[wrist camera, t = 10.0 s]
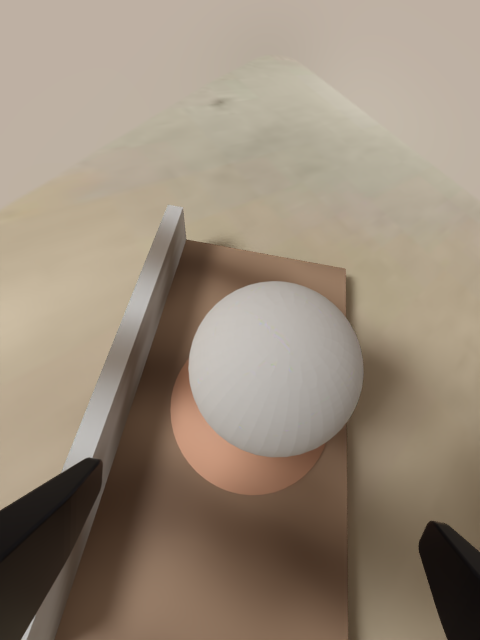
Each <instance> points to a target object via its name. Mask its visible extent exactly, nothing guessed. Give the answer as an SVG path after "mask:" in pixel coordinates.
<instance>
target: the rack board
mask: <svg viewBox="0 0 480 640" xmlns="http://www.w3.org/2000/svg"><path fill="white" fill-rule="evenodd" d="M269 281H281V282H289V283H295V284H298V285H301V286H304V287H307V288H309V289H311V290H314V291H316V292H317V293H319V294H321V295H322V296H324V297H326V298H327V299H328V300H329V301H331V302H332V303H333V304H334V305H335V306H336V307H337V308H338V309H339V310H340V311H341V312H342V313H343V314H344V316H345V317H346V269H344V268H339V267H333V266H328V265H322V264H317V263H311V262H306V261H300V260H295V259H289V258H284V257H279V256H273V255H268V254H262V253H257V252H251V251H246V250H240V249H235V248H229V247H224V246H219V245H213V244H208V243H202V242H197V241H191V240H186V232H185V222H184V213H183V207H178V206H172V205H168V206H167V208H166V211H165V213H164V216H163V218H162V221H161V223H160V226H159V228H158V231H157V233H156V236H155V238H154V241H153V243H152V246H151V248H150V251H149V253H148V256H147V258H146V261H145V263H144V266H143V269H142V271H141V274H140V276H139V279H138V281H137V284H136V286H135V289H134V291H133V294H132V296H131V299H130V301H129V304H128V306H127V309H126V311H125V314H124V316H123V319H122V321H121V324H120V326H119V329H118V331H117V334H116V336H115V339H114V341H113V344H112V346H111V349H110V351H109V354H108V356H107V359H106V361H105V364H104V366H103V369H102V371H101V374H100V376H99V379H98V381H97V384H96V387H95V389H94V392H93V394H92V397H91V399H90V402H89V404H88V407H87V409H86V412H85V414H84V417H83V419H82V422H81V424H80V427H79V429H78V432H77V434H76V437H75V439H74V442H73V444H72V447H71V449H70V452H69V454H68V457H67V459H66V462H65V464H64V467H63V469H62V472H64V471H65V470H67V469H69V468H70V467H72V466H73V465H75V464H77V463H78V462H80V461H82V460H83V459H85V458H88V457H91V458H96V459H101V460H102V461H103V474H102V486H101V489H100V492H99V495H98V497H97V499H96V501H95V503H94V505H93V507H92V510H91V512H90V514H89V516H88V518H87V520H86V522H85V524H84V527H83V529H82V531H81V533H80V535H79V537H78V539H77V542H76V544H75V546H74V548H73V550H72V552H71V554H70V556H69V558H68V560H67V561H66V563H65V565H64V567H63V569H62V570H61V572H60V574H59V575H58V577H57V579H56V581H55V582H54V584H53V586H52V587H51V589H50V591H49V593H48V594H47V596H46V598H45V599H44V601H43V603H42V605H41V606H40V608H39V610H38V611H37V613H36V615H35V617H34V618H33V620H32V622H31V624H30V625H29V627H28V629H27V630H26V632H25V634H24V636H23V637H22V639H21V640H348V539H347V422H346V424H345V425H344V426H343V428H342V429H341V430H340V431H339V432H338V433H337V434H336V435H335V436H333V437H332V438H331V439H330V440H329V441H327V442H326V443H324V444H323V445H321V446H319V447H318V448H316V449H314V450H311V451H308V452H306V453H303V454H300V455H295V456H289V457H266V456H260V455H255V454H252V453H249V452H246V451H243V450H241V449H239V448H237V447H235V446H234V445H232V444H230V443H228V442H227V441H226V440H225V439H223V438H222V437H221V436H219V435H218V434H217V433H216V432H215V431H214V430H213V429H212V428H211V426H210V425H209V424H208V423H207V422H206V420H205V419H204V417H203V416H202V414H201V413H200V411H199V409H198V406H197V404H196V402H195V400H194V397H193V394H192V390H191V386H190V380H189V369H188V367H189V355H190V350H191V346H192V342H193V339H194V336H195V334H196V332H197V329H198V327H199V325H200V324H201V322H202V321H203V319H204V318H205V316H206V315H207V313H208V312H209V311H210V310H211V309H212V308H213V307H214V306H215V305H216V304H217V303H218V302H219V301H221V300H222V299H223V298H224V297H226V296H227V295H229V294H231V293H232V292H234V291H236V290H238V289H240V288H243V287H245V286H248V285H251V284H255V283H260V282H269ZM62 472H61V473H62Z"/></svg>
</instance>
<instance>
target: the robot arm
mask: <svg viewBox="0 0 480 640" xmlns="http://www.w3.org/2000/svg"><path fill="white" fill-rule="evenodd" d="M102 474H103V461H102V460H101V459H96V458H91V457H88V458H85V459H83V460H82V461H80V462H78V463H77V464H75V465H73V466H72V467H70V468H69V469H67V470H65V471H64V472H62V473H60V474H59V475H57V476H56V477H54V478H52V479H51V480H49V481H47V482H46V483H44V484H42V485H41V486H39V487H38V488H36V489H34V490H33V491H31V492H29V493H28V494H26V495H25V496H23V497H21V498H20V499H18V500H16V501H15V502H13V503H12V504H10V505H8V506H7V507H5V508H3V509H2V510H0V640H21V639H22V637H23V636H24V634H25V632H26V630H27V629H28V627H29V625H30V624H31V622H32V620H33V618H34V617H35V615H36V613H37V611H38V610H39V608H40V606H41V605H42V603H43V601H44V599H45V598H46V596H47V594H48V593H49V591H50V589H51V587H52V586H53V584H54V582H55V581H56V579H57V577H58V575H59V574H60V572H61V570H62V569H63V567H64V565H65V563H66V561H67V560H68V558H69V556H70V554H71V552H72V550H73V548H74V546H75V544H76V542H77V539H78V537H79V535H80V533H81V531H82V529H83V527H84V524H85V522H86V520H87V518H88V516H89V514H90V512H91V510H92V507H93V505H94V503H95V501H96V499H97V497H98V495H99V492H100V489H101V486H102ZM419 553H420V557H421V560H422V563H423V566H424V570H425V573H426V576H427V579H428V583H429V586H430V589H431V592H432V595H433V599H434V602H435V605H436V608H437V612H438V615H439V618H440V621H441V624H442V626H443V629H444V632H445V634H446V637H447V640H480V552H479V551H478V550H477V549H475V548H474V547H473V546H472V545H471V544H470V543H469V542H467V541H466V540H465V539H464V538H463V537H462V536H460V535H459V534H458V533H457V532H456V531H455V530H454V529H452V528H451V527H450V526H449V525H447V524H445V523H441V522H436V521H430V522H429V523H428V524H427V526H426V528H425V530H424V532H423V534H422V537H421V539H420V541H419Z"/></svg>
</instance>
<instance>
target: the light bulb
mask: <svg viewBox="0 0 480 640" xmlns="http://www.w3.org/2000/svg"><path fill="white" fill-rule="evenodd" d="M188 369H189V380H190V386H191V390H192V394H193V397H194V400H195V402H196V404H197V406H198V409H199V411H200V413H201V414H202V416H203V417H204V419H205V420H206V422H207V423H208V424H209V425H210V426H211V428H212V429H213V430H214V431H215V432H216V433H217V434H218V435H219V436H221V437H222V438H223V439H225V440H226V441H227V442H228V443H230V444H232V445H234V446H235V447H237V448H239V449H241V450H243V451H246V452H249V453H252V454H255V455H260V456H266V457H289V456H295V455H300V454H303V453H306V452H308V451H311V450H314V449H316V448H318V447H319V446H321V445H323V444H324V443H326V442H327V441H329V440H330V439H331V438H332V437H333V436H335V435H336V434H337V433H338V432H339V431H340V430H341V429H342V428H343V426H344V425H345V424H346V422H347V421H348V420H349V418H350V417H351V415H352V413H353V411H354V409H355V407H356V405H357V403H358V400H359V397H360V393H361V390H362V384H363V375H364V371H363V357H362V353H361V348H360V344H359V341H358V339H357V336H356V334H355V332H354V330H353V328H352V326H351V324H350V323H349V321H348V320H347V318H346V317H345V316H344V314H343V313H342V312H341V311H340V310H339V309H338V308H337V307H336V306H335V305H334V304H333V303H332V302H331V301H329V300H328V299H327V298H326V297H324V296H322V295H321V294H319V293H317V292H316V291H314V290H311V289H309V288H307V287H304V286H301V285H298V284H295V283H289V282H281V281H269V282H260V283H255V284H251V285H248V286H245V287H243V288H240V289H238V290H236V291H234V292H232V293H231V294H229V295H227V296H226V297H224V298H223V299H222V300H221V301H219V302H218V303H217V304H216V305H215V306H214V307H213V308H212V309H211V310H210V311H209V312H208V313H207V315H206V316H205V318H204V319H203V321H202V322H201V324H200V325H199V327H198V329H197V332H196V334H195V336H194V339H193V342H192V346H191V350H190V355H189V367H188Z"/></svg>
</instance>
